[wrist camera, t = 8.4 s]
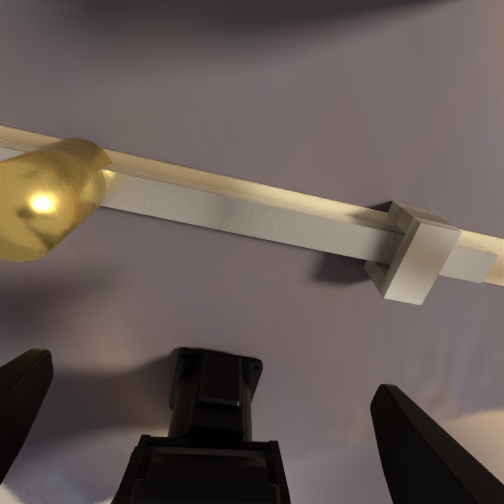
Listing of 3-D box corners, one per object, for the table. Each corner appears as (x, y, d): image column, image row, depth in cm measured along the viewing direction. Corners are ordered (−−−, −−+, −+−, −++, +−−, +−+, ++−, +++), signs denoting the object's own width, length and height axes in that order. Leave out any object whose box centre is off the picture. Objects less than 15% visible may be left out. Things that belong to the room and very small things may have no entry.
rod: (458, 280, 23) (538, 354, 17) (-256, 135, 18) (-526, 166, 11) (608, 31, 17) (826, 3, 11) (-448, -325, 11) (-1320, -837, 5)
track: (578, 310, 25) (627, 344, 22) (-282, 137, 18) (-397, 150, 15) (624, 254, 23) (686, 282, 20) (-330, 32, 16) (-475, 21, 13)
